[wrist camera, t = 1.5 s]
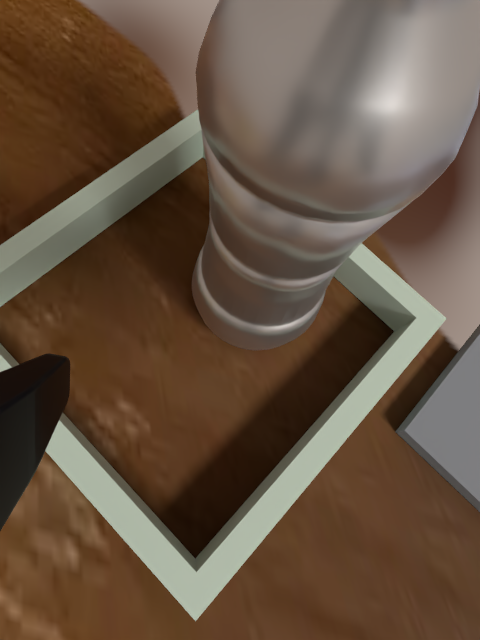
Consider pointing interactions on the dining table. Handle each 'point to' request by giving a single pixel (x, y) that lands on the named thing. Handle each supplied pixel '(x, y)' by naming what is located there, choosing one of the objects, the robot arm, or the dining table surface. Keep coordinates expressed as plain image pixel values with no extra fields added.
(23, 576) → the dining table surface
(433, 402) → the rubber mat
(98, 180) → the empty rectangular frame
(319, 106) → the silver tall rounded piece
